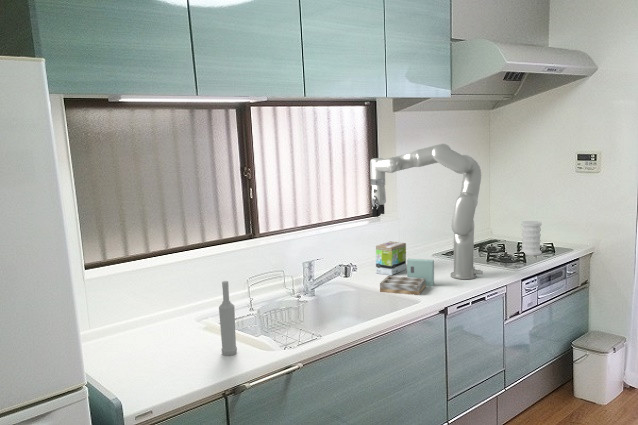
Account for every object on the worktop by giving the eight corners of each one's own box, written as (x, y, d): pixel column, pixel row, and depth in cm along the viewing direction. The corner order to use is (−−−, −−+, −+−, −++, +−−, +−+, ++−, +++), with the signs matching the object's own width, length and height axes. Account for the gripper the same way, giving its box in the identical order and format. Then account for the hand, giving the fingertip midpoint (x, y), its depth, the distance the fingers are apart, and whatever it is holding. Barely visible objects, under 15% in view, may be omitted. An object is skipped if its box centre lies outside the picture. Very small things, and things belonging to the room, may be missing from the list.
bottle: (237, 355, 186) (233, 283, 182) (222, 357, 185) (217, 284, 181) (236, 349, 191) (232, 279, 187) (221, 351, 190) (217, 280, 186)
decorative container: (543, 251, 321) (543, 221, 319) (539, 256, 312) (540, 224, 309) (522, 250, 327) (522, 220, 325) (518, 254, 317) (519, 223, 315)
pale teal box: (434, 284, 262) (433, 259, 260) (432, 286, 259) (432, 261, 257) (409, 282, 267) (408, 258, 265) (407, 284, 263) (407, 260, 262)
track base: (425, 286, 259) (425, 278, 258) (418, 295, 246) (418, 286, 245) (388, 283, 266) (388, 275, 265) (380, 291, 253) (379, 283, 252)
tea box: (392, 276, 280) (392, 247, 278) (375, 273, 286) (374, 245, 284) (406, 269, 292) (406, 242, 289) (390, 267, 298) (389, 240, 296)
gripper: (379, 184, 273) (380, 218, 276) (389, 180, 289) (390, 213, 291) (365, 184, 276) (366, 217, 279) (376, 180, 292) (376, 212, 294)
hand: (378, 215), depth 285 cm, fingers open, 9 cm apart
